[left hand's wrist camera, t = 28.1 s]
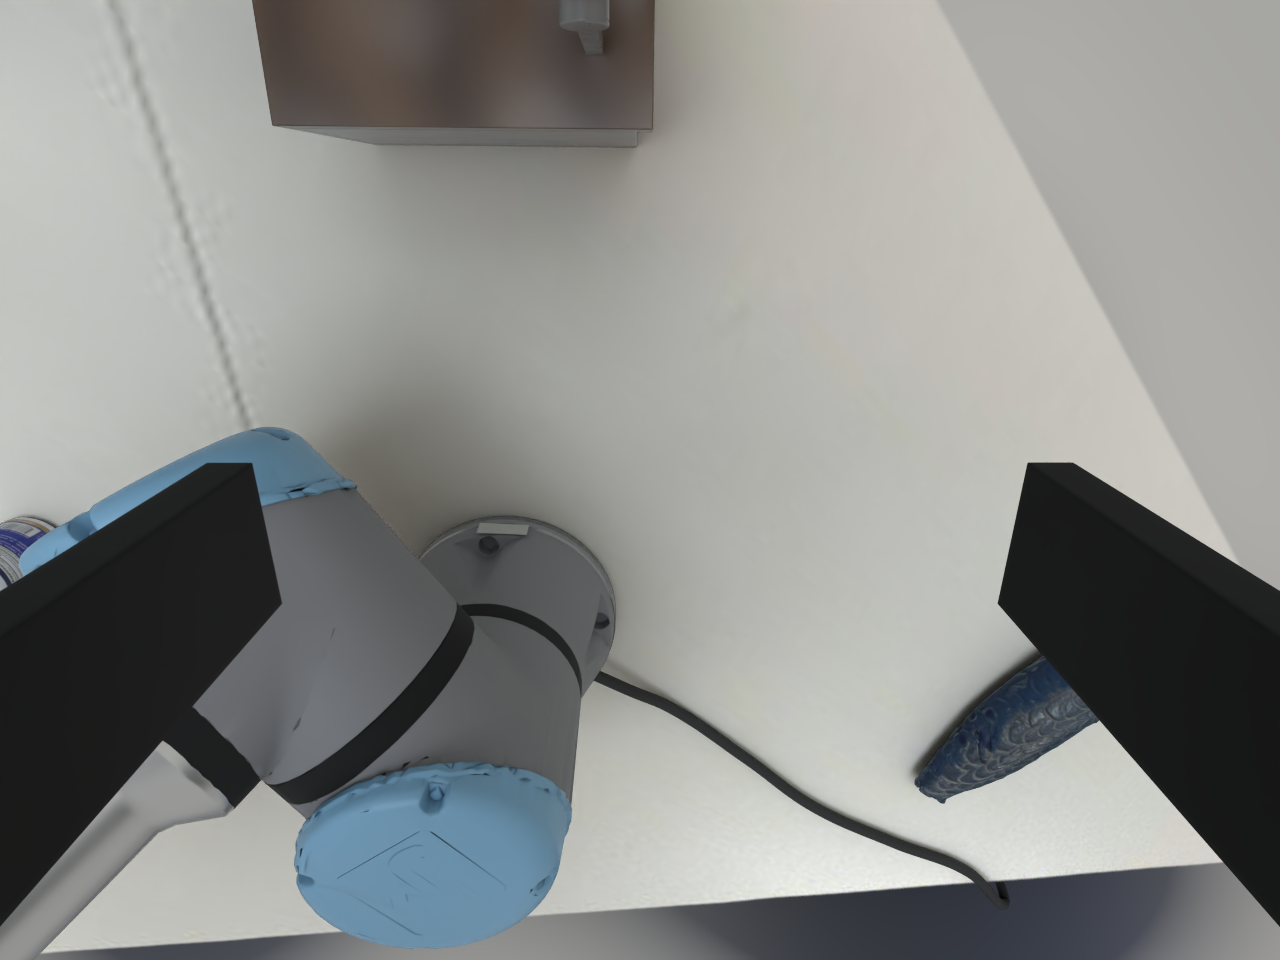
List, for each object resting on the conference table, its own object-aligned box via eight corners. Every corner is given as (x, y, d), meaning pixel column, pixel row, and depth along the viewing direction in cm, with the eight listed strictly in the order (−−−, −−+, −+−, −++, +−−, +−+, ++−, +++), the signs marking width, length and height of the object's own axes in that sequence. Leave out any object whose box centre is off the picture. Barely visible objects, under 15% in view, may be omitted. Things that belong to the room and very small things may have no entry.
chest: (639, -100, 37) (638, -213, 27) (637, 147, 41) (636, 132, 31) (346, -104, 37) (232, -219, 27) (374, 144, 41) (286, 128, 31)
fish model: (1159, 631, 53) (1208, 673, 49) (952, 802, 60) (978, 854, 55) (1099, 583, 52) (1143, 622, 47) (894, 764, 58) (915, 814, 54)
